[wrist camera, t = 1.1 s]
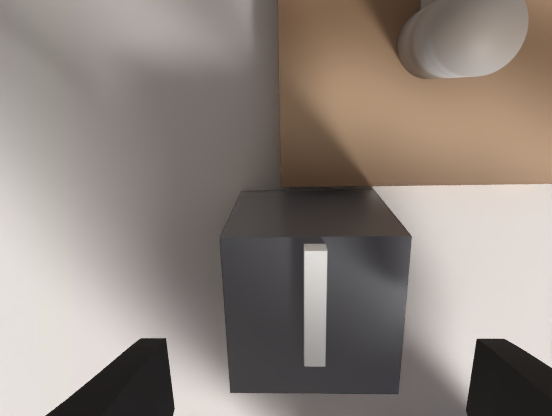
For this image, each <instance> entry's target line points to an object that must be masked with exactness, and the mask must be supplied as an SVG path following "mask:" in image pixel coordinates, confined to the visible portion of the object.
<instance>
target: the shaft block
mask: <svg viewBox="0 0 552 416" xmlns="http://www.w3.org/2000/svg"><path fill="white" fill-rule="evenodd" d="M277 3H278V55H279V108H280V161H281V187H338V186H415V185H491V184H552V0H277Z"/></svg>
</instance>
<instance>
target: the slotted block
mask: <svg viewBox="0 0 552 416" xmlns="http://www.w3.org/2000/svg"><path fill="white" fill-rule="evenodd" d="M411 238H412V236H411V235H410V233H409V232H408V231H407V230H406V228H405V227H404V226H403V225H402V224H401V222H400V221H399V220H398V219H397V217H396V216H395V215H394V214H393V213H392V211H391V210H390V209H389V208H388V206H387V205H386V204H385V203H384V201H383V200H382V199H381V198H380V197H379V195H378V194H377V193H376V192H375V190H313V191H241V193H240V195H239V197H238V200H237V202H236V204H235V206H234V208H233V210H232V212H231V215H230V217H229V219H228V221H227V223H226V225H225V227H224V229H223V232H222V234H221V236H220V250H221V265H222V279H223V294H224V308H225V323H226V337H227V352H228V366H229V381H230V393H328V394H398V392H399V380H400V369H401V357H402V345H403V333H404V321H405V309H406V297H407V286H408V274H409V262H410V250H411Z"/></svg>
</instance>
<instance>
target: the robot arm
mask: <svg viewBox="0 0 552 416" xmlns="http://www.w3.org/2000/svg"><path fill="white" fill-rule="evenodd" d="M174 409H175V408H174V400H173V392H172V384H171V376H170V367H169V359H168V351H167V343H166V338H141V339H139V340H138V341H137V342H135V343H134V344H133V345H132V346H130V347H129V348H128V349H127V350H126V351H124V352H123V353H122V354H121V355H120V356H118V357H117V358H116V359H115V360H114V361H113V362H111V363H110V364H109V365H108V366H107V367H105V368H104V369H103V370H102V371H101V372H100V373H98V374H97V375H96V376H95V377H93V378H92V379H91V380H90V381H89V382H87V383H86V384H85V385H84V386H83V387H81V388H80V389H79V390H78V391H76V392H75V393H74V394H73V395H72V396H70V397H69V398H68V399H67V400H65V401H64V402H63V403H61V404H60V405H59V406H58V407H56V408H55V409H54V410H52V411H51V412H50V413H48V414H47V415H46V416H173V413H174ZM466 412H467V415H468V416H552V368H551V367H549V366H548V365H546V364H545V363H543V362H542V361H540V360H538V359H537V358H535V357H534V356H532V355H531V354H529V353H527V352H526V351H524V350H522V349H521V348H519V347H518V346H516V345H514V344H512V343H511V342H509V341H507V340H505V339H477V341H476V348H475V354H474V361H473V368H472V374H471V381H470V387H469V394H468V401H467V407H466Z"/></svg>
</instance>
